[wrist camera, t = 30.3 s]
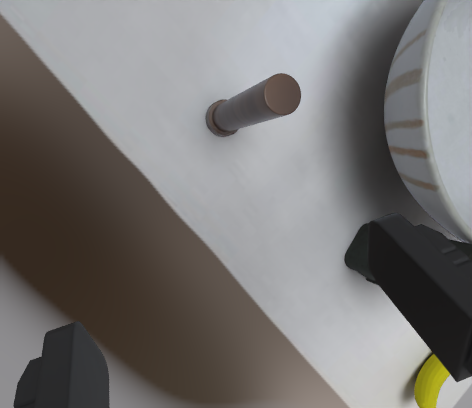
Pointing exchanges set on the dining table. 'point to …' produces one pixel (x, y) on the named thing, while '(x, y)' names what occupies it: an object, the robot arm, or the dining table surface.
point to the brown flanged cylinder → (255, 105)
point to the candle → (359, 251)
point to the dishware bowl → (434, 112)
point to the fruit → (430, 382)
